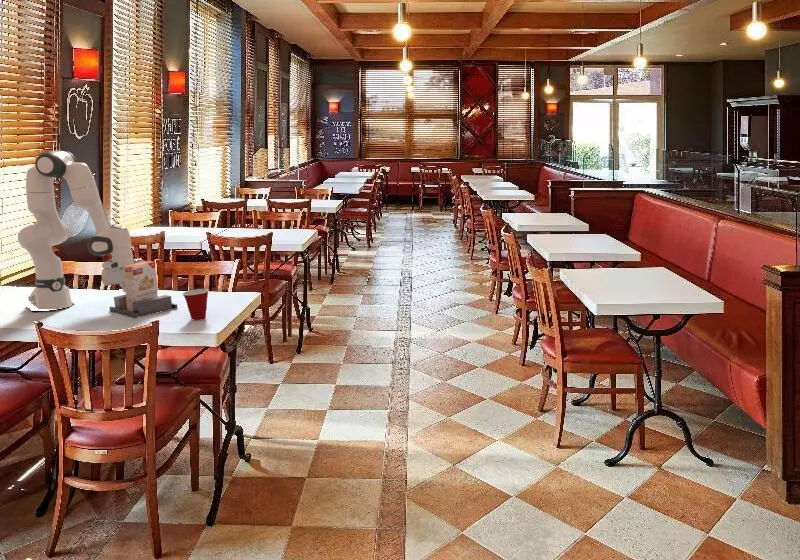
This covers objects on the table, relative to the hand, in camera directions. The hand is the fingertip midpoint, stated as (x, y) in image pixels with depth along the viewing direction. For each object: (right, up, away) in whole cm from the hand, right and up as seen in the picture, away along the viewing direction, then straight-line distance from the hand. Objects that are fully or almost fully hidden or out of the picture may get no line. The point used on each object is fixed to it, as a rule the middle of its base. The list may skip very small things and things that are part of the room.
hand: (126, 291), depth 327 cm
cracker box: (+10, -8, -8) cm, 15 cm away
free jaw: (+5, -7, -3) cm, 9 cm away
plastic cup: (+39, -11, -25) cm, 48 cm away
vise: (+11, -8, -8) cm, 16 cm away
